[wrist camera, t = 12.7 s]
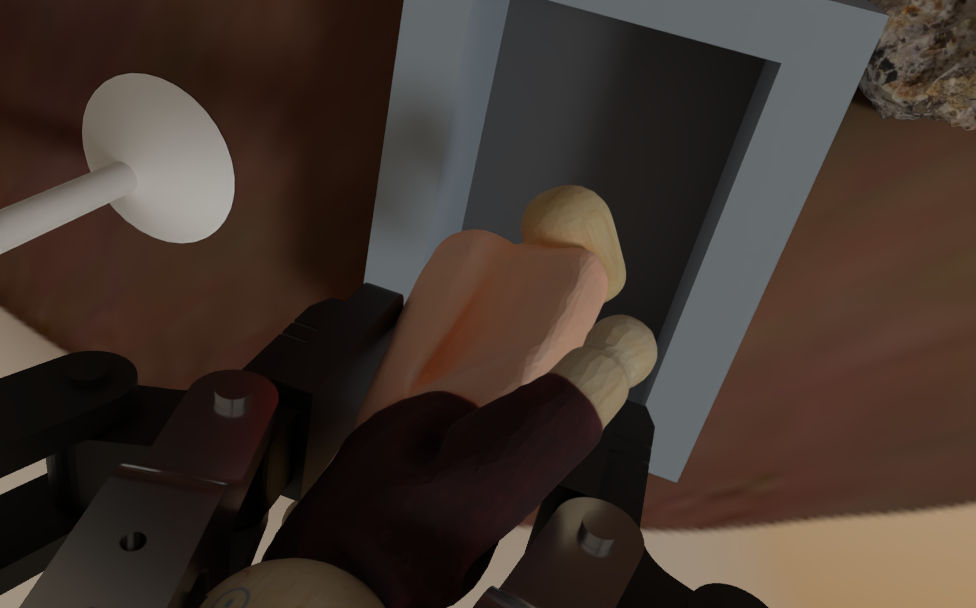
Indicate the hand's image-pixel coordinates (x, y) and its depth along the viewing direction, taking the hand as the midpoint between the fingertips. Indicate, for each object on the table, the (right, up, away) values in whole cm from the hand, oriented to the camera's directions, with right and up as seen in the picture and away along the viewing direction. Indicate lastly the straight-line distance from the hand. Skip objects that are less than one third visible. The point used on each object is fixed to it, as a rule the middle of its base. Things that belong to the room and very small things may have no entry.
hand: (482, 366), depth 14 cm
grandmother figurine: (+1, +2, +3) cm, 4 cm away
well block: (+3, +5, +10) cm, 12 cm away
